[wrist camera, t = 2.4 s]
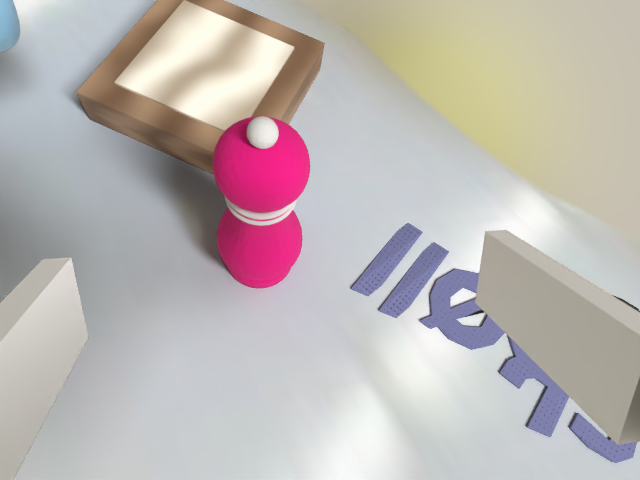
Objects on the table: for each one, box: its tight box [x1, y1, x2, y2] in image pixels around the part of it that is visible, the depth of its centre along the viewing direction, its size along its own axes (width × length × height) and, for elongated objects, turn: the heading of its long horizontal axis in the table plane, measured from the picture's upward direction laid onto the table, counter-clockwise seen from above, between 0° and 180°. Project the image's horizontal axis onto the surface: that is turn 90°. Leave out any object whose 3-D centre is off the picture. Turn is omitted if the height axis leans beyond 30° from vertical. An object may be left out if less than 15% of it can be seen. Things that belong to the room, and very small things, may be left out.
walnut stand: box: [76, 0, 325, 174], centre depth 47 cm, size 18×18×4 cm
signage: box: [351, 223, 637, 463], centre depth 42 cm, size 28×1×10 cm
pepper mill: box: [213, 116, 310, 288], centre depth 33 cm, size 7×7×20 cm
